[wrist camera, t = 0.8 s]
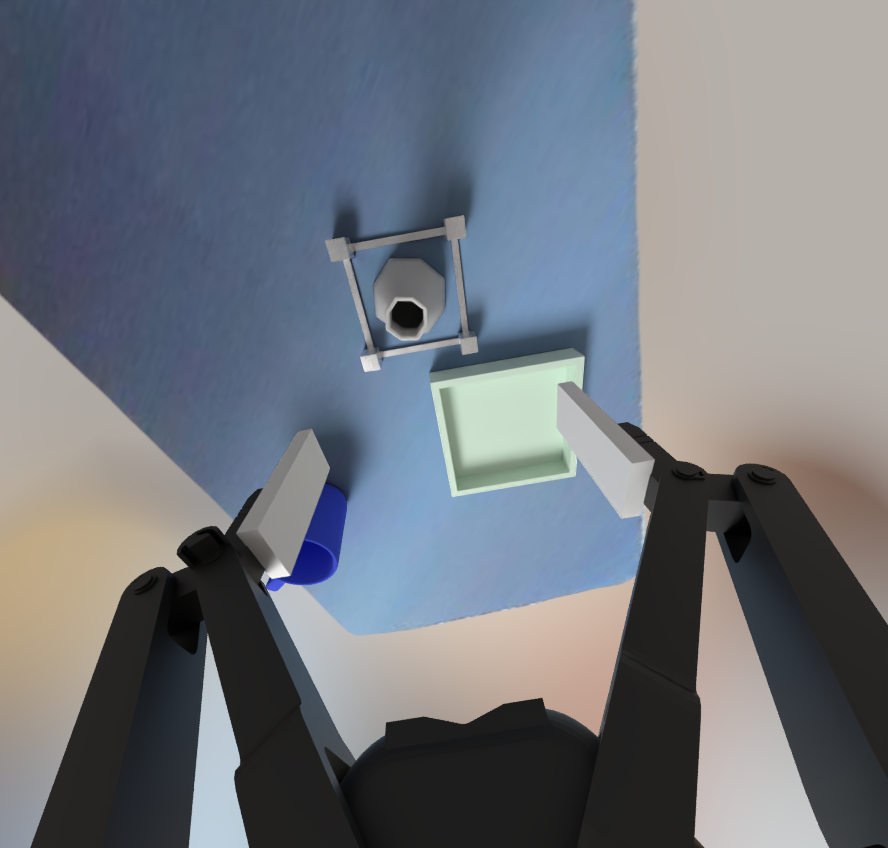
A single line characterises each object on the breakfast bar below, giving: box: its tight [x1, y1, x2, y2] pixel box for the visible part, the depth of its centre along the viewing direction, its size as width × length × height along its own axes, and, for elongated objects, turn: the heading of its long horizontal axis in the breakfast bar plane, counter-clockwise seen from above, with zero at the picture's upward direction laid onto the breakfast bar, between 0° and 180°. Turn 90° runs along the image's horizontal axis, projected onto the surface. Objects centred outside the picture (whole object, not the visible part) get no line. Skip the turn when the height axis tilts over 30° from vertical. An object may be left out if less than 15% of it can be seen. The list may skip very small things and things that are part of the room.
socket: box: [325, 215, 478, 372], centre depth 30 cm, size 12×12×2 cm
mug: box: [266, 484, 347, 591], centre depth 39 cm, size 8×12×10 cm
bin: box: [429, 348, 585, 497], centre depth 37 cm, size 16×16×3 cm
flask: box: [373, 258, 445, 340], centre depth 27 cm, size 7×7×10 cm
